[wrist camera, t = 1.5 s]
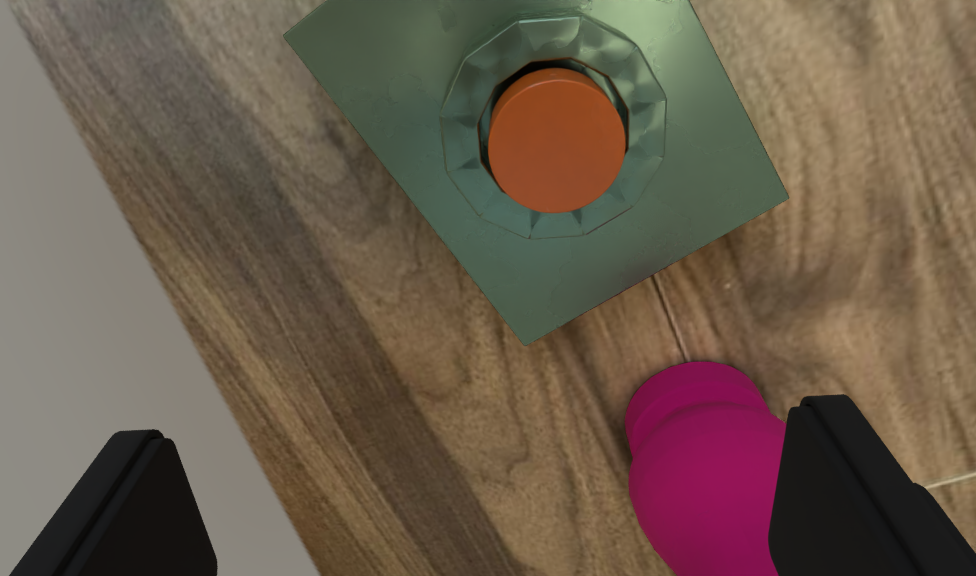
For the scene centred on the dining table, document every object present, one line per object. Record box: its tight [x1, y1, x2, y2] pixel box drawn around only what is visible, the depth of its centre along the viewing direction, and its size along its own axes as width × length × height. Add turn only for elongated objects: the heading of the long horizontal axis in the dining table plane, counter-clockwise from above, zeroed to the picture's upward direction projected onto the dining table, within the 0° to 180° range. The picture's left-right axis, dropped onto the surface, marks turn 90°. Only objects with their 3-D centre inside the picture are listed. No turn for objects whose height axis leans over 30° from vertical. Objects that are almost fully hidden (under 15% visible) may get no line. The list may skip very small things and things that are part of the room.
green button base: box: [283, 0, 789, 346], centre depth 23 cm, size 14×11×4 cm
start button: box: [488, 68, 626, 213], centre depth 21 cm, size 4×4×2 cm
